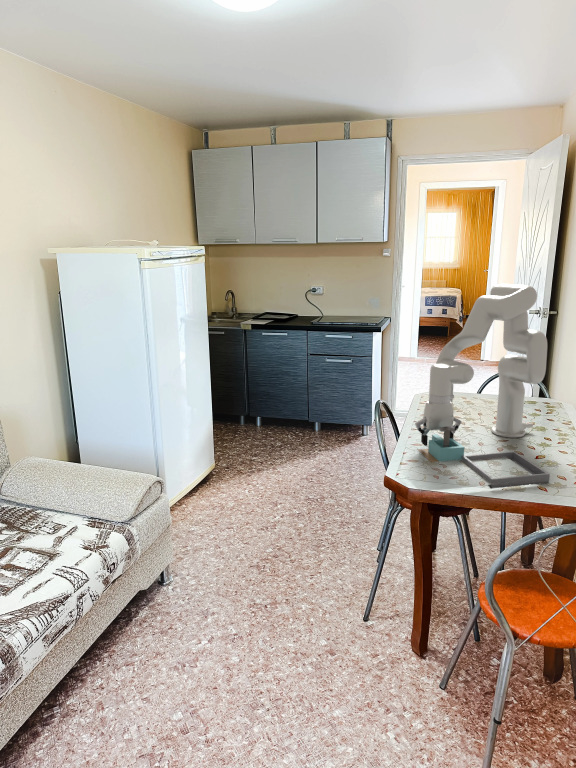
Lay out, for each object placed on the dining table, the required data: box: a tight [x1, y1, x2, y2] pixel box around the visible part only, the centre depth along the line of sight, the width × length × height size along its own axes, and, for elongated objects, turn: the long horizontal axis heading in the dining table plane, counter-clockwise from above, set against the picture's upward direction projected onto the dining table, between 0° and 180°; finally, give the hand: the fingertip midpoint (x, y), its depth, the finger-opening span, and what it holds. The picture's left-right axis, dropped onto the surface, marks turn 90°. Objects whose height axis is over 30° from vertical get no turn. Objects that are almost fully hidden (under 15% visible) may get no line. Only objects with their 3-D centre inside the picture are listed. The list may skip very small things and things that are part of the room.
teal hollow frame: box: [427, 433, 465, 462], centre depth 187 cm, size 9×14×4 cm, turn 9°
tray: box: [461, 450, 551, 489], centre depth 174 cm, size 20×20×3 cm
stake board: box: [417, 426, 456, 463], centre depth 186 cm, size 12×12×12 cm
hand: (437, 443), depth 192 cm, fingers open, 9 cm apart
